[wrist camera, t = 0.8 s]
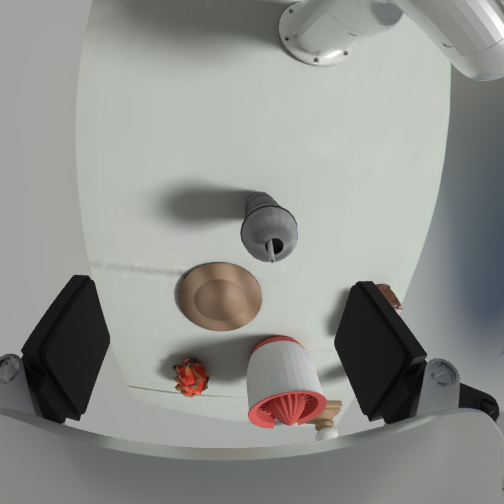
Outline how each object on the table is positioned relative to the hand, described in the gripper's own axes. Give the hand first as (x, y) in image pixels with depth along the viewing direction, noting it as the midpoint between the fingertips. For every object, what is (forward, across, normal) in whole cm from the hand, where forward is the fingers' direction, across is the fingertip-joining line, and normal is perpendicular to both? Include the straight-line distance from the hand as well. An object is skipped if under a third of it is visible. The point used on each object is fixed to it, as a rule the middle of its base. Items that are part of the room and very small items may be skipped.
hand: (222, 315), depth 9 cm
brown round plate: (+36, 0, +25) cm, 44 cm away
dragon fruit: (+37, +7, +47) cm, 60 cm away
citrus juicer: (+36, -13, +42) cm, 57 cm away
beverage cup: (+36, -6, +6) cm, 37 cm away
